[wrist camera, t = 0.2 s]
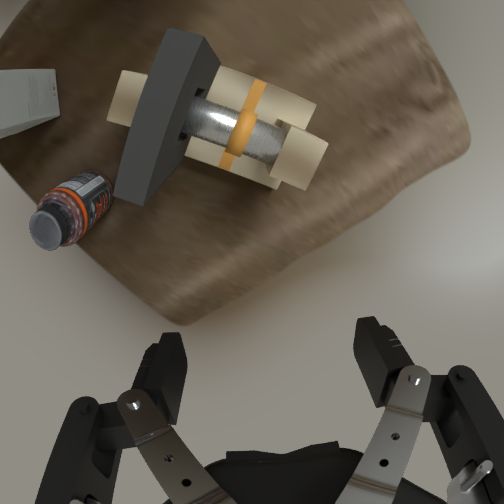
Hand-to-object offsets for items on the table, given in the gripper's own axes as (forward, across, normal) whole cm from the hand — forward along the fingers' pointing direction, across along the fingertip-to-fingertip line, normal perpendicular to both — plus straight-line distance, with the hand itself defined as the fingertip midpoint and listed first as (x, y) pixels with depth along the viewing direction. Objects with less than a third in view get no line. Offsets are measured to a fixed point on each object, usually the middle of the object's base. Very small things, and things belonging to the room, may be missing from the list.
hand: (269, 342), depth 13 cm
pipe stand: (+21, +2, -11) cm, 24 cm away
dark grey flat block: (+17, +5, -12) cm, 21 cm away
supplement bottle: (+22, +19, -5) cm, 30 cm away
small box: (+21, +26, -18) cm, 38 cm away
